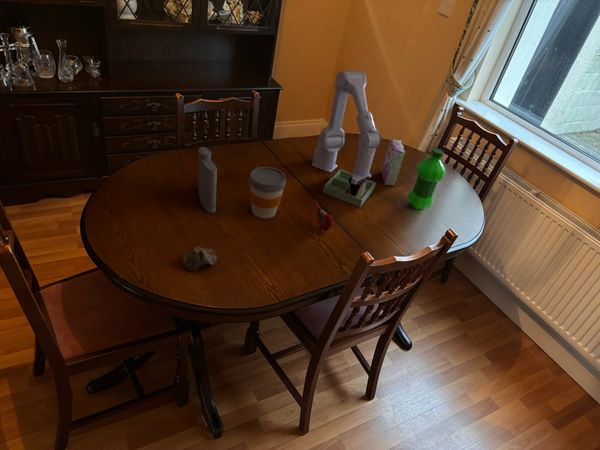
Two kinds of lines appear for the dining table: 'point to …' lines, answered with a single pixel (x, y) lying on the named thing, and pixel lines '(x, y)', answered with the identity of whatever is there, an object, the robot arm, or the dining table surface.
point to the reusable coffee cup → (266, 191)
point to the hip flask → (207, 180)
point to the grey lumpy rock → (199, 258)
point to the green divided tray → (346, 188)
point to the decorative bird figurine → (324, 219)
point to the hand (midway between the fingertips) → (356, 191)
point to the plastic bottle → (427, 180)
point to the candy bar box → (393, 162)
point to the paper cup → (361, 189)
